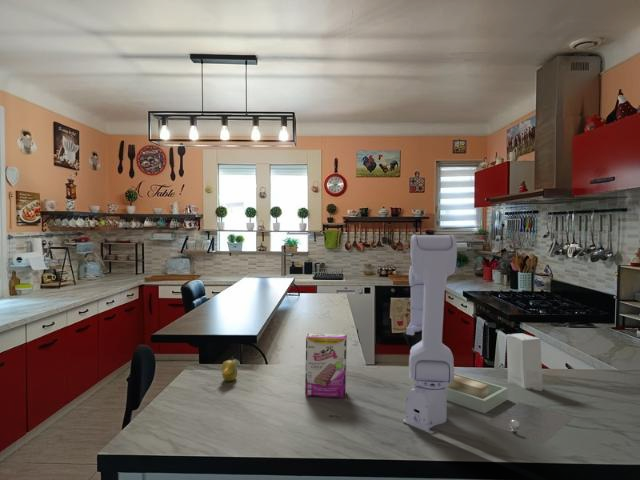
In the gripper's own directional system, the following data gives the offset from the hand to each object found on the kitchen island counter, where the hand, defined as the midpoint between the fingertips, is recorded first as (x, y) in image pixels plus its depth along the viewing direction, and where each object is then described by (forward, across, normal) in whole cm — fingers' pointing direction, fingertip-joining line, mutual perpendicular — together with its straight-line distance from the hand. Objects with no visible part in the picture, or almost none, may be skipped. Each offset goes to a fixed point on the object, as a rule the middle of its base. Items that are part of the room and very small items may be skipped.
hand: (420, 355), depth 114 cm
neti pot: (+10, -30, +48) cm, 57 cm away
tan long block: (+8, 0, -12) cm, 15 cm away
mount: (+9, -6, -29) cm, 31 cm away
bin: (+9, 0, -12) cm, 15 cm away
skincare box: (+10, +20, -23) cm, 32 cm away
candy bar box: (+10, -21, +18) cm, 29 cm away
